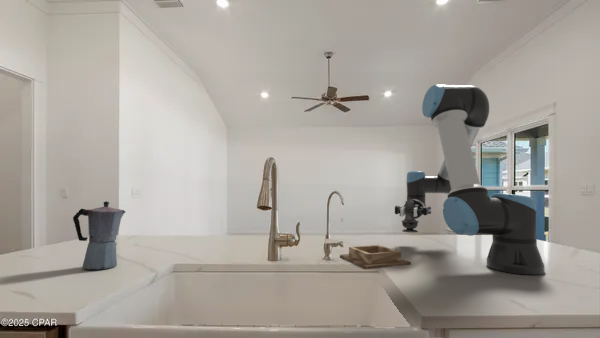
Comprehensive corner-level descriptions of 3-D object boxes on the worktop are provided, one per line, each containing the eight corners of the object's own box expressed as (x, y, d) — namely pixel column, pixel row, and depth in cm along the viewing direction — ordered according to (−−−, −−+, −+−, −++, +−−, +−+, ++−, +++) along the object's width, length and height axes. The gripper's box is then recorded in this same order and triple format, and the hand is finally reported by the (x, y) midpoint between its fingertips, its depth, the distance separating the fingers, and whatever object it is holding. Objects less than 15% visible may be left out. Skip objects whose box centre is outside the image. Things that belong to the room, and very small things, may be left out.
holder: (411, 264, 106) (410, 252, 106) (366, 268, 100) (366, 256, 100) (380, 253, 122) (380, 243, 122) (340, 257, 116) (340, 246, 116)
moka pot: (132, 263, 104) (134, 201, 105) (83, 276, 90) (85, 203, 91) (112, 260, 108) (114, 200, 109) (62, 271, 94) (65, 202, 95)
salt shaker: (420, 232, 112) (419, 197, 112) (402, 232, 113) (401, 197, 114) (417, 230, 117) (417, 197, 118) (400, 230, 119) (400, 197, 119)
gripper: (436, 218, 128) (434, 224, 107) (393, 217, 135) (383, 222, 114) (436, 199, 129) (434, 201, 107) (392, 199, 135) (383, 200, 114)
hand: (408, 212), depth 111 cm, fingers closed on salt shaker, 4 cm apart
